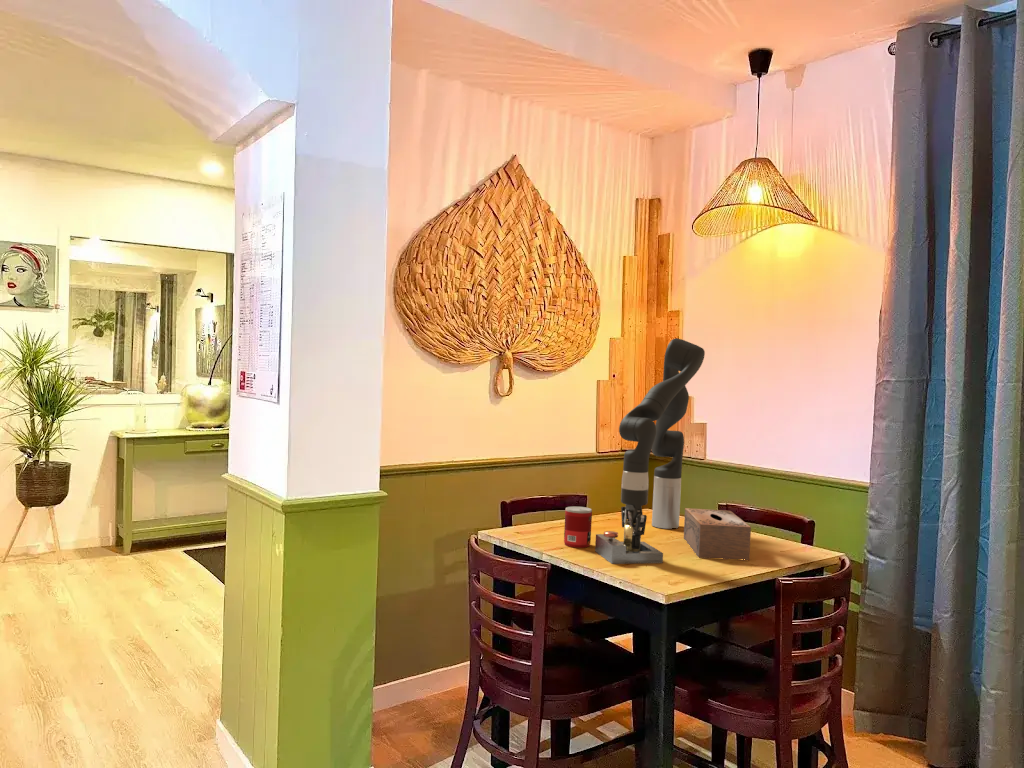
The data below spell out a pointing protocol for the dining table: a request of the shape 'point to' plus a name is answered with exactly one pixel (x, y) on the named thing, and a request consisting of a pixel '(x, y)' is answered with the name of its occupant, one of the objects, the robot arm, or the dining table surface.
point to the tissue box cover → (717, 534)
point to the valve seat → (624, 550)
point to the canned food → (577, 527)
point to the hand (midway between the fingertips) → (631, 546)
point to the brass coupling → (629, 538)
